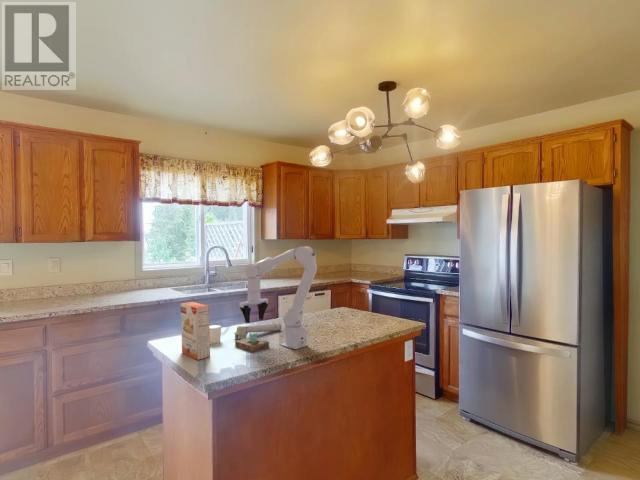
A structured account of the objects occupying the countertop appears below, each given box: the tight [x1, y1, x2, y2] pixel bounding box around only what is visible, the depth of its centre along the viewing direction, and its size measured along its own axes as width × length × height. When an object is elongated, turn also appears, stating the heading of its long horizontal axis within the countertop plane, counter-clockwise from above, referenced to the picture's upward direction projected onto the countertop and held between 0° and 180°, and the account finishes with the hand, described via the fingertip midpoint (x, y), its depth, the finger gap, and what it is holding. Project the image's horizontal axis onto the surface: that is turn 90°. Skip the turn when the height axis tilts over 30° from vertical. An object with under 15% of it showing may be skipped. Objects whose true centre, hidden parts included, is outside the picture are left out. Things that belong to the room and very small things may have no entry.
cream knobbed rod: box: [234, 322, 282, 340], centre depth 180 cm, size 5×7×25 cm
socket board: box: [234, 336, 270, 353], centre depth 161 cm, size 12×9×2 cm
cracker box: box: [180, 301, 211, 361], centre depth 150 cm, size 14×6×21 cm, turn 45°
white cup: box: [209, 324, 222, 344], centre depth 170 cm, size 7×7×7 cm
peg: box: [248, 332, 258, 344], centre depth 160 cm, size 3×3×6 cm
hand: (254, 321), depth 167 cm, fingers open, 7 cm apart
